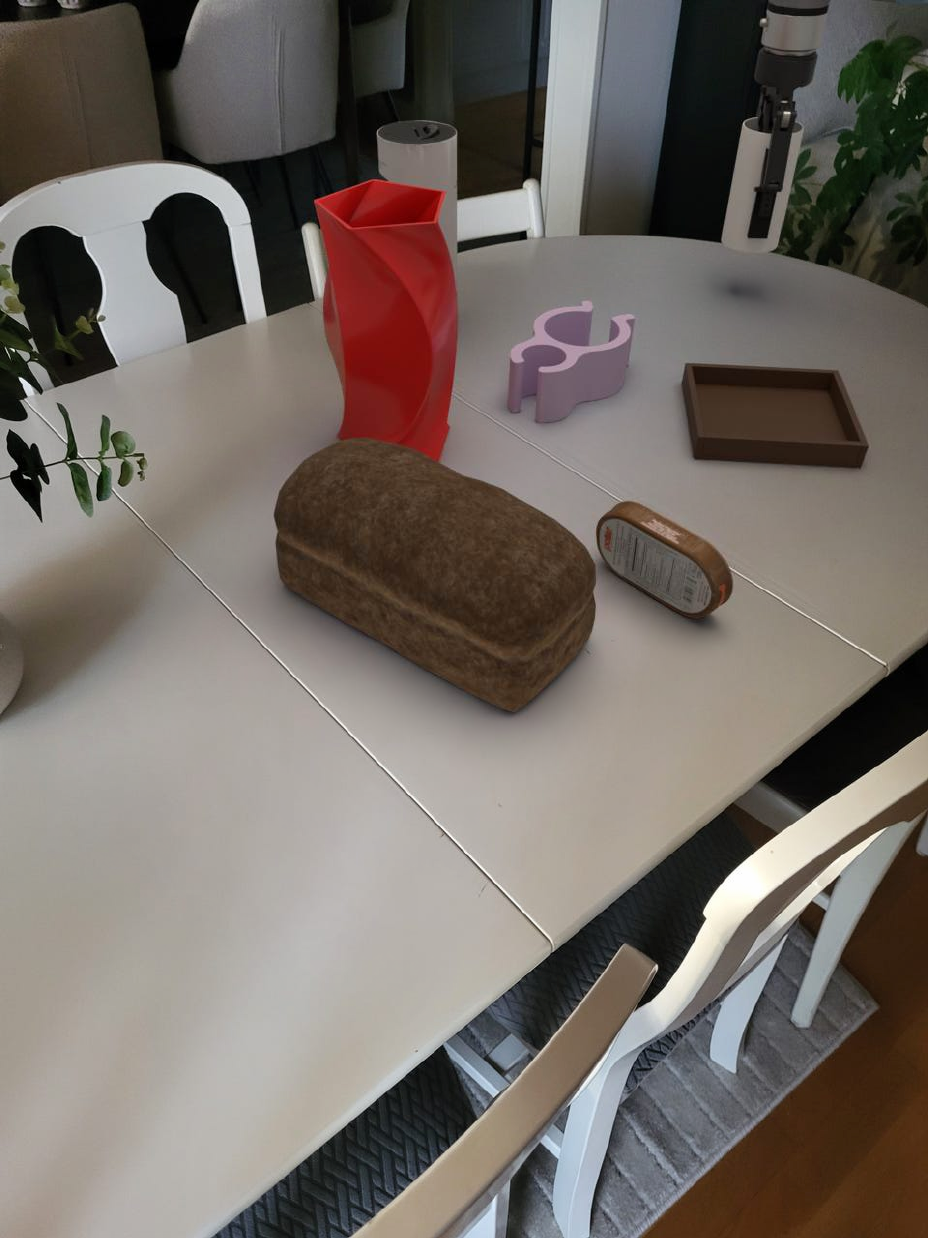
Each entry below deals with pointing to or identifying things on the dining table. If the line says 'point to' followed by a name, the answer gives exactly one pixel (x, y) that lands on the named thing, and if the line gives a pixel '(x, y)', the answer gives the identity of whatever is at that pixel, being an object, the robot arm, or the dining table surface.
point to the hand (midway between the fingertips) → (752, 225)
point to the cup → (744, 195)
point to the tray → (771, 415)
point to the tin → (664, 559)
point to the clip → (568, 362)
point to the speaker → (424, 167)
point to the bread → (437, 567)
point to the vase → (390, 312)
